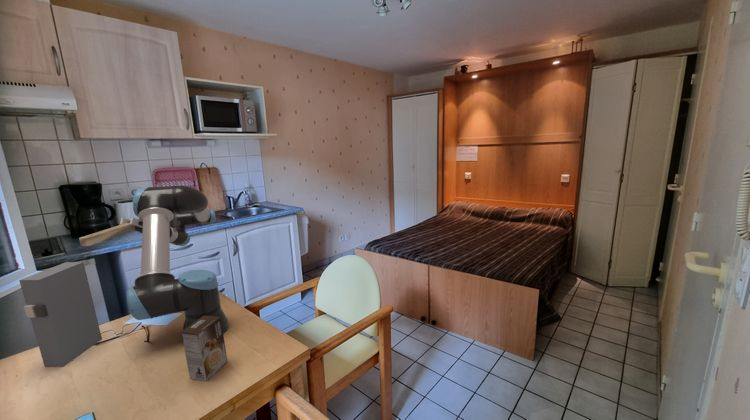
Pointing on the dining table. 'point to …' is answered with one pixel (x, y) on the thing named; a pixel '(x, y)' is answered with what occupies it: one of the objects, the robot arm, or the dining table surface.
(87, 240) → the wooden bar
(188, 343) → the coffee box
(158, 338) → the dining table surface
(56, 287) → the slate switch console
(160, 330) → the dining table surface
